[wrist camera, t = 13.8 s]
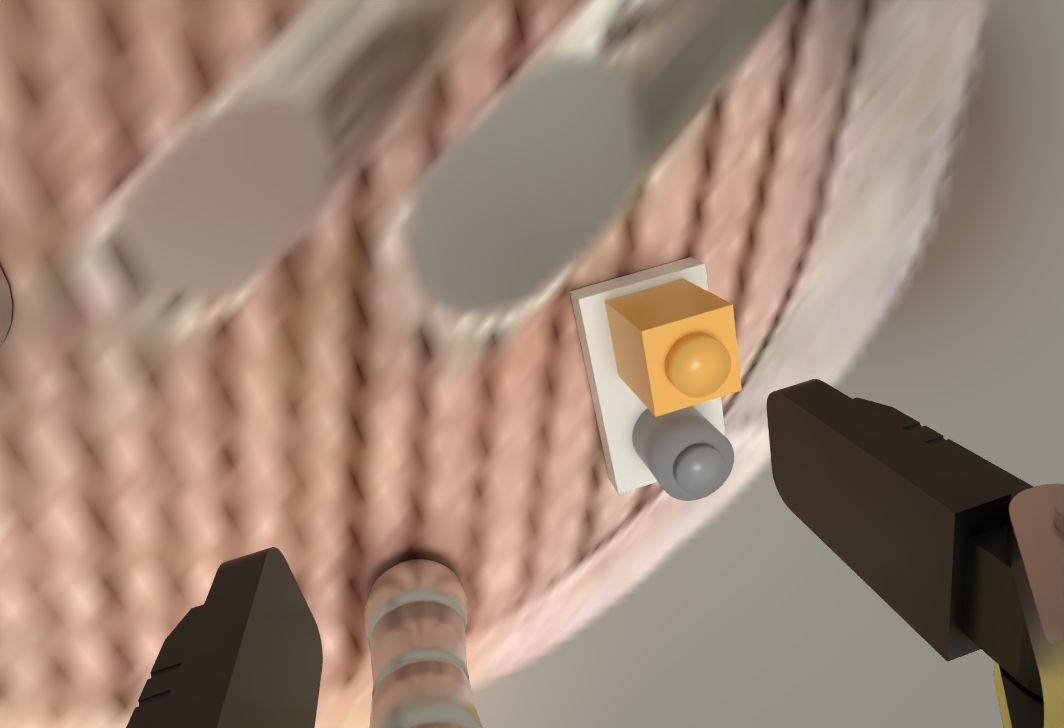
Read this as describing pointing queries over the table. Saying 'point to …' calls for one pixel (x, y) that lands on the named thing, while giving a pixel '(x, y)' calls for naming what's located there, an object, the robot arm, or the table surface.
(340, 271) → the table surface
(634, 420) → the white rectangular plate
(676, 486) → the capped post
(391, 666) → the plastic bottle
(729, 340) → the domed tan cube
